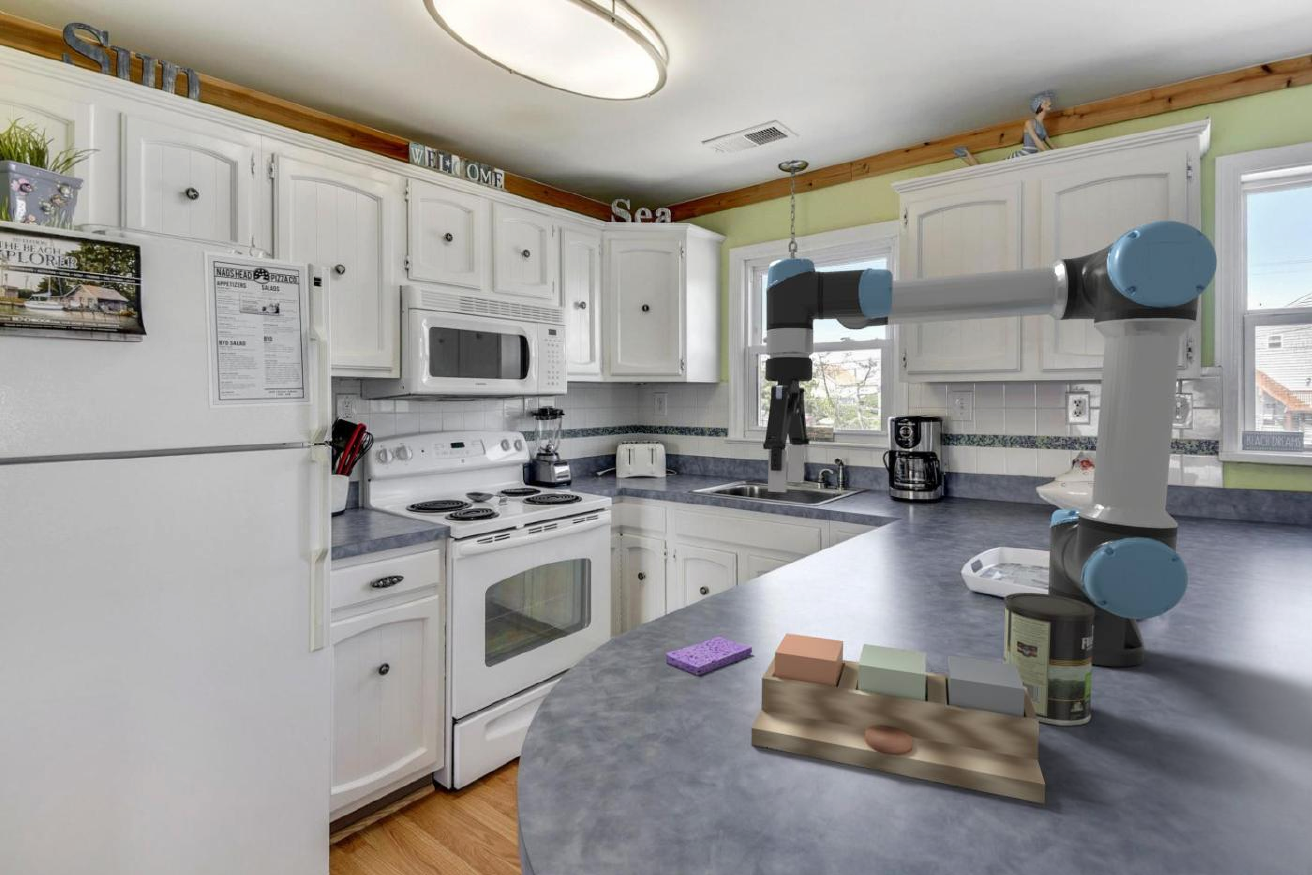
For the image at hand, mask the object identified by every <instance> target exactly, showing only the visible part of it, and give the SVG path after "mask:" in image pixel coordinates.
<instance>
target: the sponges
mask: <svg viewBox="0 0 1312 875" xmlns="http://www.w3.org/2000/svg"><path fill="white" fill-rule="evenodd" d="M752 653H753V647H752V646H749V645H745V644H742V643H739V642H734V641H732V640H729V639H726V638H724V637H720V636H717V637H714V638H711V639H708V640H705V641H703V642H700V643H697V644H693V645H690V646H686V647H683V648H680V649H678V650H673V651H669V652H667V653H665V663H667V664H668V665H669V664H670V665H672V666H674V667H677V668H679V669H681V670H683V671H687V672H689V673H691V674H694V675H696V676H700V675H704V674H705V673H708V672H710V671H712V670H715V669H718V668H720V667H724V666H726V665H729V664H731V663H734V662H736V661H739V660H741V659H744V658H747V657H749V656H751V654H752Z"/></svg>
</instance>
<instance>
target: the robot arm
mask: <svg viewBox="0 0 1312 875" xmlns="http://www.w3.org/2000/svg"><path fill="white" fill-rule="evenodd" d="M1217 263H1218V262H1217V254H1216V250H1215V247H1214V245H1213V244H1212V241H1211V240H1210V239H1209V237H1208V236H1207V235H1206V234H1204V233H1202V232H1201V230H1199V229H1197V227H1195V226H1193V225H1190V224H1188V223H1186V222H1185V223H1184V222H1181V221H1174V220H1157V221H1153V222H1149V223H1146V224H1143V225H1140V226H1138V227H1134V228H1132V229H1130V230H1128V231H1125V233H1123V234H1122V235H1120V236H1119V237H1118V238H1117V239H1116V240H1115V241H1114V242H1112V243H1110V244H1109V245H1107V246H1106V247H1105V248H1102V249H1100V250H1098V251H1095V252H1093V253H1090V254H1086V255H1083V256H1079V257H1072V258H1063V259H1057V260H1056V261H1054V263H1053V264H1051V265H1050V266H1047V267H1046V266H1045V267H1037V268H1036V267H1034V268H1025V269H1023V268H1021V269H1014V270H1013V269H1012V270H1011V269H1010V270H1001V271H1000V270H999V271H990V272H987V271H986V272H978V273H977V272H976V273H966V274H955V275H943V276H933V277H921V278H911V279H909V278H908V279H899V280H898V279H896V280H893V279H894V277H893V273H892V271H891V270H890V269H886V268H885V269H883V268H882V269H881V268H880V269H879V268H875V269H874V268H870V267H869V268H866V269H865V268H864V269H851V270H839V271H838V270H836V271H834V270H833V271H818V270H816V268H815V263H814V261H813V260H811V259H809V258H803V257H802V258H800V257H799V258H798V257H797V258H795V257H789V258H782V259H777V260H775V261H773V262H771V263H770V265H769V266H768V269H767V284H766V288H765V292H766V293H765V294H766V295H765V296H766V303H765V304H766V308H765V309H766V315H765V316H766V321H765V322H766V329H765V330H766V334H765V335H766V336H764V337H763V338H762V342H763V343H764V344H765V346H766V348H765V350H766V351H765V354H766V355H767V356H769V357H768V358H767V359H766V360H765V380H766V381H768V382H775V383H776V382H777V384H776V385H772V386H771V388H770V403H769V410H768V418H767V424H766V425H767V426H766V431H765V433H766V434H765V440H764V443H763V444H762V448H763V450H768V462H767V463H768V470H767V473H768V474H767V475H768V476H767V492H773V493H787V483H798V484H799V483H800V484H803V483H805V481H804V480H805V479H804V478H805V472H804V471H805V446H807V445H810V439H809V438H808V432H807V420H806V408H805V388H804V387H800V382H802V383H803V382H810V381H812V380H813V365H814V364H813V360H812V358H811V357H810V356H811V355H813V353H814V320H819V321H820V320H836V321H837V322H838V323H839V324H840V325H841V326H842V327H844V328H845V329H849V330H857V331H858V330H863V329H866V328H868V327H879V326H880V327H881V326H892V325H904V324H905V325H906V324H922V323H936V322H939V323H940V322H951V321H952V322H953V321H966V320H968V321H969V320H982V319H983V320H984V319H998V318H999V319H1000V318H1013V317H1029V316H1045V315H1048V316H1050V317H1051V318H1052V319H1054V320H1055V321H1065V320H1066V321H1067V320H1093V328H1095V329H1096V331H1098V332H1099V333H1100V334H1101V335H1102V336H1103V337H1104V350H1103V360H1102V361H1103V362H1102V373H1101V374H1102V375H1101V385H1100V397H1099V411H1098V422H1097V424H1098V425H1097V434H1096V445H1095V446H1096V450H1095V459H1094V460H1095V461H1094V473H1093V485H1092V498H1091V502H1090V504H1089V505H1087V506H1086V507H1085V508H1083V509H1061V508H1059V509H1057V510H1055V511H1054V512H1053V513H1052V515H1051V521H1050V525H1049V532H1050V535H1049V537H1050V539H1049V540H1050V541H1049V559H1048V560H1049V563H1048V564H1049V566H1048V592H1047V594H1049V595H1056V596H1061V597H1066V598H1070V599H1074V600H1078V601H1081V602H1084V603H1086V604H1088V605H1090V606H1092V607H1093V608H1094V609H1095V617H1094V624H1093V653H1092V665H1096V666H1097V665H1098V666H1103V667H1104V666H1105V667H1132V666H1136V665H1140V664H1142V663H1144V661H1145V651H1146V650H1145V648H1146V647H1145V642H1144V640H1143V637H1142V634H1141V631H1140V630H1141V629H1140V627H1139V625H1138V621H1137V620H1146V619H1152V618H1156V617H1159V616H1161V615H1163V614H1165V613H1167V612H1168V611H1169V610H1172V609H1173V608H1175V607H1176V606H1177V605H1178V604H1179V603H1180V602H1181V600H1182V599H1183V597H1184V595H1186V594H1185V593H1186V591H1187V588H1188V585H1189V584H1188V581H1189V577H1188V570H1187V568H1186V564H1185V563H1184V561H1183V559H1182V557H1181V556H1180V554H1179V553H1178V552H1177V551H1176V550H1177V541H1178V528H1179V524H1178V522H1177V521H1176V520H1175V519H1174V518H1173V517H1172V516H1171V515H1170V514H1169V513H1168V512H1167V510H1166V506H1167V505H1166V504H1167V495H1168V494H1167V493H1168V484H1169V474H1170V473H1169V470H1170V460H1171V449H1172V447H1171V446H1172V436H1173V428H1174V427H1173V426H1174V415H1175V406H1176V405H1175V403H1176V393H1177V382H1178V380H1177V379H1178V369H1179V368H1178V367H1179V359H1180V348H1181V346H1180V345H1181V338H1182V337H1183V335H1184V334H1186V333H1187V332H1188V331H1190V330H1191V329H1192V328H1193V327H1195V326H1196V324H1197V318H1198V317H1197V315H1198V306H1199V297H1200V295H1201V294H1203V293H1204V291H1206V289H1207V288H1208V287H1209V285H1210V284H1211V282H1212V281H1213V279H1214V278H1215V274H1216V270H1217ZM787 440H789V444H788V445H787ZM786 447H787V449H786Z"/></svg>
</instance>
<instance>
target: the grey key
mask: <svg viewBox="0 0 1312 875" xmlns="http://www.w3.org/2000/svg"><path fill="white" fill-rule="evenodd" d="M947 660H948V661H947V675H948V687H947V699H948V705H952V706H958V707H964V708H970V709H976V710H982V711H989V712H995V713H1001V714H1007V715H1013V716H1019V717H1024V691H1025V689H1024V686H1023V683H1022V680H1021V677H1020V674H1019V672H1018V669H1017V666H1016V665H1014V664H1007V663H1004V662H1001V661H1000V662H998V661H992V660H991V661H990V660H984V659H976V658H969V657H962V656H955V655H949V654H948V657H947Z"/></svg>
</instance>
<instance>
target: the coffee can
mask: <svg viewBox="0 0 1312 875" xmlns="http://www.w3.org/2000/svg"><path fill="white" fill-rule="evenodd" d="M1003 600H1004V601H1003V602H1004V605H1005V607H1004V608H1005V609H1004V636H1003V639H1004V640H1003V663H1007V664H1014V665H1016V666H1017V669H1018V672H1019V674H1020V677H1021V680H1022V683H1023V686H1024V687H1026V688H1027V691H1028V694H1029V697H1030V699H1031V702H1032V705H1033V708H1034V711H1035V714H1036V716H1037V719H1038V722H1039V723H1043V724H1048V725H1052V726H1053V725H1054V726H1060V727H1061V726H1062V727H1064V726H1065V727H1075V726H1082V725H1085V724H1087V723H1089V722H1090V720H1091V718H1092V715H1091V702H1092V701H1091V699H1092V698H1091V696H1092V673H1093V672H1092V671H1093V670H1092V669H1093V664H1092V653H1093V624H1094V617H1095V609H1094V608H1093V607H1092V606H1090V605H1088V604H1086V603H1084V602H1081V601H1078V600H1074V599H1070V598H1066V597H1061V596H1056V595H1049V594H1048V593H1047V594H1046V593H1037V592H1018V593H1017V592H1016V593H1010V594H1007V595H1006V596H1004V599H1003Z"/></svg>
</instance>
